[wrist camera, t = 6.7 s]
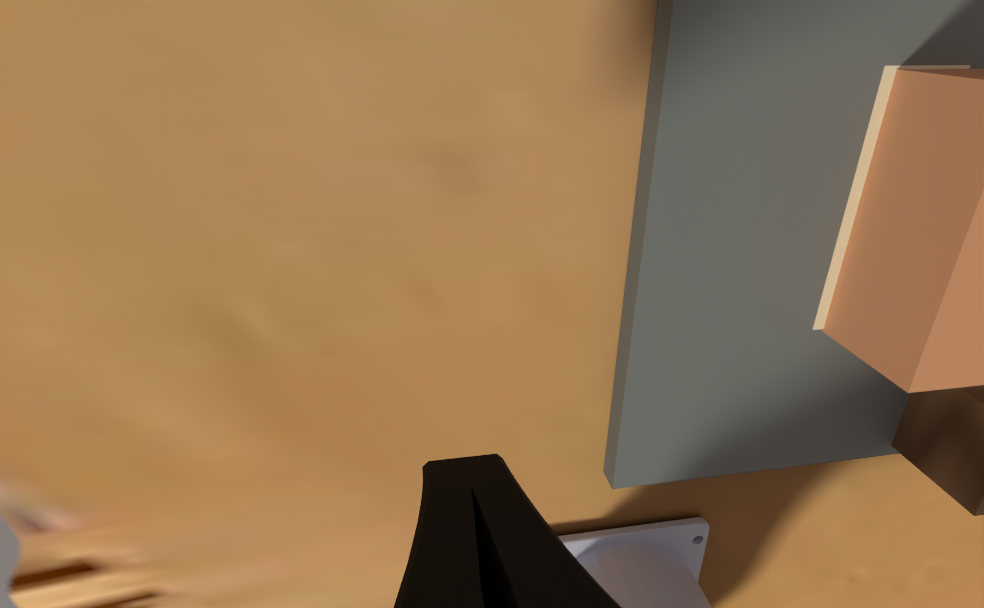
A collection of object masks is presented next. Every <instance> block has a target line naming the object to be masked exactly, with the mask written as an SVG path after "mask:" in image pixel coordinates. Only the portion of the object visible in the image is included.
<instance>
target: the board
mask: <svg viewBox="0 0 984 608" xmlns="http://www.w3.org/2000/svg"><path fill="white" fill-rule="evenodd" d="M980 68H982V69H984V0H658V7H657V16H656V24H655V33H654V42H653V50H652V59H651V68H650V76H649V85H648V94H647V102H646V111H645V119H644V128H643V137H642V145H641V154H640V163H639V171H638V180H637V188H636V197H635V206H634V214H633V223H632V232H631V240H630V249H629V258H628V266H627V275H626V283H625V292H624V301H623V309H622V318H621V327H620V335H619V344H618V352H617V361H616V370H615V378H614V387H613V396H612V404H611V413H610V422H609V430H608V439H607V447H606V456H605V465H604V474H605V476H606V478H607V480H608V482H609V484H610V486H611V488H612V489H617V488H625V487H633V486H641V485H649V484H658V483H666V482H674V481H682V480H690V479H698V478H706V477H714V476H722V475H730V474H738V473H746V472H754V471H762V470H770V469H778V468H786V467H794V466H802V465H810V464H818V463H826V462H835V461H843V460H851V459H859V458H867V457H875V456H883V455H891V454H899V452H898V451H897V450H896V449H895V448H893V447H892V446H891V444H892V442H893V439H894V436H895V434H896V431H897V428H898V426H899V423H900V420H901V418H902V415H903V412H904V410H905V407H906V404H907V402H908V399H909V396H910V394H911V393H907V392H906V391H904V390H903V389H901V388H900V387H899V386H897V385H896V384H895V383H893V382H892V381H890V380H889V379H888V378H886V377H885V376H883V375H882V374H881V373H879V372H878V371H877V370H875V369H874V368H872V367H871V366H870V365H868V364H867V363H866V362H864V361H863V360H861V359H860V358H859V357H857V356H856V355H854V354H853V353H852V352H850V351H849V350H848V349H846V348H845V347H843V346H842V345H841V344H839V343H838V342H836V341H835V340H834V339H832V338H831V337H830V336H828V335H827V334H825V333H824V332H823V329H824V325H825V322H826V318H827V314H828V311H829V307H830V304H831V300H832V297H833V293H834V290H835V286H836V283H837V279H838V276H839V272H840V268H841V265H842V261H843V258H844V254H845V251H846V247H847V244H848V240H849V237H850V233H851V229H852V226H853V222H854V219H855V215H856V212H857V208H858V205H859V201H860V198H861V194H862V190H863V187H864V183H865V180H866V176H867V173H868V169H869V166H870V162H871V159H872V155H873V151H874V148H875V144H876V141H877V137H878V134H879V130H880V127H881V123H882V120H883V116H884V112H885V109H886V105H887V102H888V98H889V95H890V91H891V88H892V84H893V81H894V77H895V74H896V70H897V69H980Z"/></svg>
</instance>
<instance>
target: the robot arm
mask: <svg viewBox="0 0 984 608" xmlns="http://www.w3.org/2000/svg"><path fill="white" fill-rule="evenodd" d="M422 469H423V490H422V499H421V506H420V511H419V517H418V523H417V527H416V531H415V535H414V539H413V544H412V548H411V552H410V556H409V560H408V563H407V567H406V570H405V573H404V577H403V580H402V583H401V586H400V589H399V592H398V596H397V599H396V602H395V605H394V608H712V607H711V605H710V604H709V602H708V600H707V598H706V597H705V595H704V593H703V591H702V589H701V588H700V586H699V584H698V579H699V575H700V570H701V566H702V561H703V557H704V553H705V548H706V544H707V539H708V535H709V530H710V526H709V525H708V523H707V522H706V520H705V519H704V518H702V517H696V518H688V519H681V520H673V521H666V522H659V523H651V524H644V525H636V526H629V527H622V528H614V529H607V530H600V531H592V532H585V533H577V534H570V535H563V536H557V535H556V534H555V533H554V531H553V530H552V529H551V528H550V526H549V525H548V524H547V523H546V521H545V520H544V519H543V517H542V516H541V515H540V513H539V512H538V511H537V509H536V508H535V507H534V505H533V504H532V503H531V501H530V500H529V498H528V497H527V495H526V494H525V493H524V491H523V490H522V488H521V487H520V485H519V484H518V482H517V481H516V479H515V478H514V476H513V475H512V473H511V472H510V470H509V468H508V467H507V465H506V463H505V462H504V460H503V458H502V457H500V456H499V455H498V454H490V455H481V456H472V457H463V458H454V459H445V460H436V461H428V462H427V463H426V464H425V465H424V466H423V467H422Z"/></svg>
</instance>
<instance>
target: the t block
mask: <svg viewBox="0 0 984 608" xmlns="http://www.w3.org/2000/svg"><path fill="white" fill-rule="evenodd" d="M823 332H824V333H825V334H827V335H828V336H830V337H831V338H832V339H834V340H835V341H836V342H838V343H839V344H841V345H842V346H843V347H845V348H846V349H848V350H849V351H850V352H852V353H853V354H854V355H856V356H857V357H859V358H860V359H861V360H863V361H864V362H866V363H867V364H868V365H870V366H871V367H872V368H874V369H875V370H877V371H878V372H879V373H881V374H882V375H883V376H885V377H886V378H888V379H889V380H890V381H892V382H893V383H895V384H896V385H897V386H899V387H900V388H901V389H903V390H904V391H906V392H907V393H914V392H923V391H932V390H942V389H951V388H960V387H970V386H979V385H984V69H982V68H980V69H897V70H896V74H895V77H894V81H893V84H892V88H891V91H890V95H889V98H888V102H887V105H886V109H885V112H884V116H883V120H882V123H881V127H880V130H879V134H878V137H877V141H876V144H875V148H874V151H873V155H872V159H871V162H870V166H869V169H868V173H867V176H866V180H865V183H864V187H863V190H862V194H861V198H860V201H859V205H858V208H857V212H856V215H855V219H854V222H853V226H852V229H851V233H850V237H849V240H848V244H847V247H846V251H845V254H844V258H843V261H842V265H841V268H840V272H839V276H838V279H837V283H836V286H835V290H834V293H833V297H832V300H831V304H830V307H829V311H828V314H827V318H826V322H825V325H824V329H823Z"/></svg>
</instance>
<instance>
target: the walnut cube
mask: <svg viewBox="0 0 984 608" xmlns="http://www.w3.org/2000/svg"><path fill="white" fill-rule="evenodd" d="M891 446H892V447H893V448H895V449H896V450H897V451H898V452H899V453H900V454H902V455H903V456H904V457H905V458H906V459H908V460H909V461H910V462H911V463H912V464H913V465H915V466H916V467H917V468H918V469H919V470H921V471H922V472H923V473H924V474H925V475H926V476H928V477H929V478H930V479H931V480H932V481H934V482H935V483H936V484H937V485H938V486H939V487H941V488H942V489H943V490H944V491H945V492H947V493H948V494H949V495H950V496H951V497H952V498H954V499H955V500H956V501H957V502H958V503H960V504H961V505H962V506H963V507H964V508H965V509H967V510H968V511H969V512H970V513H971V514H972V515H974V516H977V515H984V385H979V386H970V387H960V388H951V389H942V390H932V391H923V392H914V393H911V394H910V396H909V399H908V402H907V404H906V407H905V410H904V412H903V415H902V418H901V420H900V423H899V426H898V428H897V431H896V434H895V436H894V439H893V442H892V444H891Z"/></svg>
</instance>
